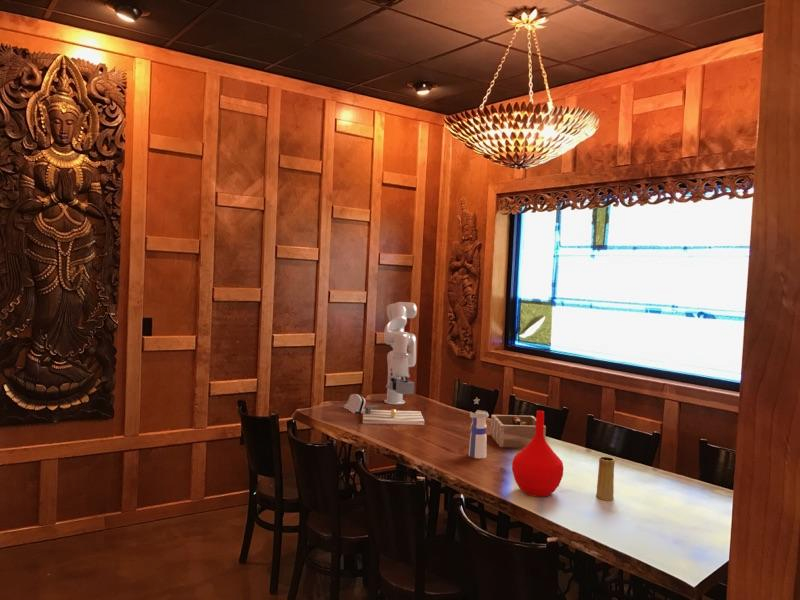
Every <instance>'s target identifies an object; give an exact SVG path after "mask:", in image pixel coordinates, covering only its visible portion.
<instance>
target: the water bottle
mask: <svg viewBox="0 0 800 600" xmlns="http://www.w3.org/2000/svg"><path fill="white" fill-rule="evenodd" d="M473 401H474V405H475V404H477V405H479V402H480V399H479V398H478V397H476V398H475V399H473ZM489 416H490V415H489V413H488V411H486V410H480V409H476V411H475V412H472V411H470V413H469V417H470V419H472V422H471V424H470V427H469V430H470V435H469V438H470V439H469V446H468V447H469V450H468V457H470V458H473V459H485V458H487V436H488V435H487V427H488V426H487V421H486V420H487V418H488V417H489Z"/></svg>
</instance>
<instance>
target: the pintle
mask: <svg viewBox="0 0 800 600" xmlns="http://www.w3.org/2000/svg"><path fill="white" fill-rule="evenodd" d="M390 409H391V417H392V418H395V417H396V411H397V409H395V408H390Z"/></svg>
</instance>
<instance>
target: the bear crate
mask: <svg viewBox="0 0 800 600" xmlns="http://www.w3.org/2000/svg"><path fill="white" fill-rule="evenodd" d="M511 416H513V417H517V416H518V415H516V414H515V415H513V414H491V415H490V417H491V418H490V434H489V435H490V436H491V437H492V439H493V440H494V441H495V442H496V444H497V445H498V446H499V448H521V449H524V448H525V447H526V446H527V445H528V444H529V443H530V442H531V441H532V439H533V438H534V436H535V428H536V417H535V416H533V415H519V416H520V417H519V419H520V421H521V422H525V423H526V422H527V424H526V425H513V423H512V418H511ZM546 430H547V426H546V425H544V434H543V435H544V438H545V439H546V434H547V433H546V432H547V431H546Z"/></svg>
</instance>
